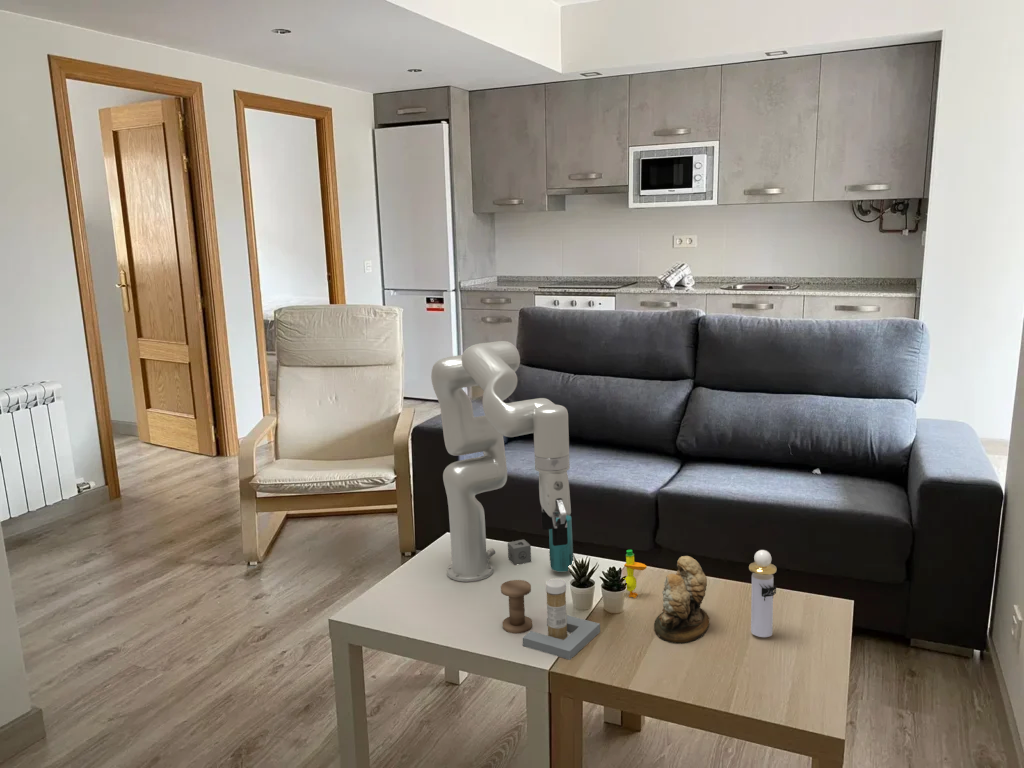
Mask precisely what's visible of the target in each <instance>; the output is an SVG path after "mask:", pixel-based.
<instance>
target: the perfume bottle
mask: <svg viewBox="0 0 1024 768" xmlns="http://www.w3.org/2000/svg"><path fill="white" fill-rule="evenodd" d="M753 558H754V561H753V562H751V563H750V564H749V566H748V570H749V571H750V572H751V599H750V600H751V602H750V603H751V605H750V606H751V607H750V632H751V634H752V635H753V636H756V637H759V638H768V637H771V636H772V635H773V629H774V628H773V626H774V625H773V624H774V622H773V621H774V618H773V617H774V615H773V614H774V613H773V612H774V596H775V595H777V585H774V574H775V573H777V566H776V565H774V564H772V560H773V559H772V556H771V553H770V552H769V551H768V550H766V549H759V550H758V551H756V552H755V553H754V557H753Z"/></svg>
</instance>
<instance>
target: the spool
mask: <svg viewBox="0 0 1024 768" xmlns="http://www.w3.org/2000/svg"><path fill="white" fill-rule="evenodd" d="M500 592H501V594H502V595H504V596H505V597H508V612H509V613H508V614H509V616H508V617H506V618H505V619H503V620H502V629H503V631H505V632H507V633H509V634H514V635H516V634H524V633H527V632H530V631H532V629H533V624H534V623H533V620H532V618H530V616H527V615H526V613H525V611H526V610H525V609H526V608H525V607H526V606H525V596H527V595H530V593H531V592H532V585H531V583H530V582H529V581H527V580H524V579H511V580H507V581H505V582H503V583H501V585H500Z"/></svg>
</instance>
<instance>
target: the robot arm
mask: <svg viewBox="0 0 1024 768" xmlns="http://www.w3.org/2000/svg"><path fill="white" fill-rule="evenodd" d="M520 364H521V356H520V352H519V350H518V349H517V347H516V345H514V344H513V343H512V342H510V341H507V340H498V341H492V342H491V341H490V342H481V343H476V344H472V345H470V346H469V347H467V348H466V349H465V350H464V351H463V352H462V354H459V355H452V356H446V357H443V358H441V359H439V360H436V362H435V363H434V364H433V365H432V368H431V375H430V377H431V384H432V388H433V391H434V393H435V396H436V399H437V401H438V404H439V408H440V418H441V424H442V431H443V432H442V433H443V440H444V445H445V449H446V451H447V453H448V454H449V455H451V456H456V457H457V456H466V455H470V454H476V453H481V452H482V453H483V455H482V456H479V457H471V458H466V459H462V460H461V459H459V460H457V461H454V462H451V463H450V464H448V465H446V467H445V469H444V470H443V473H442V480H443V485H444V488H445V493H446V497H447V505H448V507H447V508H448V519H449V533H450V537H449V538H450V549H451V552H450V553H451V564H450V565H449V566H448V567H447V569H446V576H447V577H448V578H449V579H451V580H454V581H457V582H463V583H464V582H476V581H481V580H483V579H486V578H488V577H490V576H492V574H493V572H494V566H493V564H492V563H490V562H489V559H490V558H491V557H493V556H494V555H495V554H496V550H495V549H494V548H490V549H488V550H487V540H486V539H487V535H486V519H485V509H484V507H483V505H482V503H481V502H480V501H479V500H478V499H477V498H476V495H479V494H481V493H486V492H491V491H494V490H498V489H499V490H500V489H502V488H503V487H504V486H505V485H506V484H507V481H508V466H507V458H506V450H505V448H506V447H505V442H504V437H507V438H514V437H519V436H524V435H529V434H533V450H534V451H533V452H534V470H535V471H536V472H538V477H539V478H538V493H539V503H540V506H541V513H540V514H541V528H542V530H543V531H545V530H549V529H552V538H553V545H554V546H559V545H566V544H567V543H568V536H567V519H566V515H568V516H569V515H570V516H571V513H572V508H571V494H570V493H571V492H570V483H569V474H568V471H569V470H570V436H569V435H570V434H569V413H568V409H567V407H565V406H564V405H560V404H556V403H554V402H552V401H551V400H550V399H548V398H546V397H539V398H532V399H524V400H519V401H512V402H504V401H505V400H506V399H507V398H510V396H511V395H512V394H513V393H514V392H515V391H516V388H517V386H518V375H517V373H516V372H517V370H518V369H519V367H520ZM471 387H479V388H481V390H482V391H483V393H482V408H483V413H484V415H480V416H479V415H478V416H475V415H474V409H473V408H474V407H473V402H472V399H471V398H470V396H469V395H468V394H467V393H466V391H465V390H464V388H471ZM556 512H559V513H556ZM556 518H559V519H558V520H557V522H556Z"/></svg>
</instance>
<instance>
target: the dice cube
mask: <svg viewBox="0 0 1024 768" xmlns="http://www.w3.org/2000/svg"><path fill="white" fill-rule="evenodd" d="M507 556H508V557H507V558H509V559H508V560H509V561H510V562H511V563H512V564H513V565H514V566H517V564H519V565H523V563H524V564H528V563H532V547H531V544H530V543H529V542H528V541H526V540H525V539H518V540H515V541H514V540H512V541H509V542H507Z"/></svg>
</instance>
